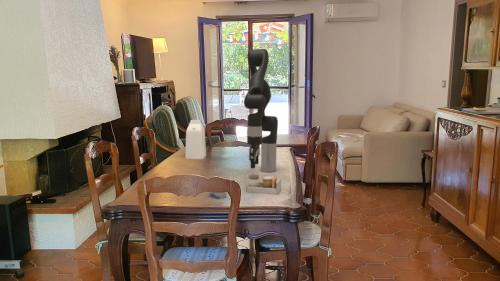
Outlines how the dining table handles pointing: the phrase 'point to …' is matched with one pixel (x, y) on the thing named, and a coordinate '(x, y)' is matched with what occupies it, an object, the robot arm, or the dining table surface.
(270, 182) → the brown jar
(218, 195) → the medicine box
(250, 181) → the cream jar
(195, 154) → the milk
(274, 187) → the pusher
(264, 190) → the grey tray
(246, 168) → the dining table surface
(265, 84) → the robot arm
